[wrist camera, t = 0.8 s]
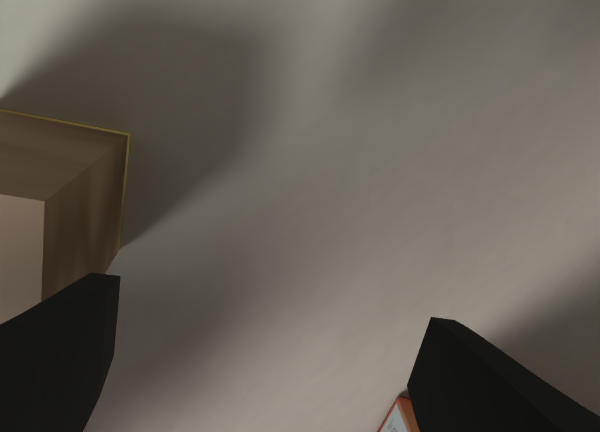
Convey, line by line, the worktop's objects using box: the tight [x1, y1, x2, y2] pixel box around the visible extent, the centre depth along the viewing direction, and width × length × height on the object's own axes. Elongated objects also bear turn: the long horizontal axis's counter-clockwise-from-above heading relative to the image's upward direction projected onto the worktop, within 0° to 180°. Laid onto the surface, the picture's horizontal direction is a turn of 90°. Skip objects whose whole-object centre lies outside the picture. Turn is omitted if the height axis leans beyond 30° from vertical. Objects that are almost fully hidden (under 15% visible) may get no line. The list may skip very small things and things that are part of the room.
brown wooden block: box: [0, 109, 131, 324], centre depth 15 cm, size 5×5×8 cm
